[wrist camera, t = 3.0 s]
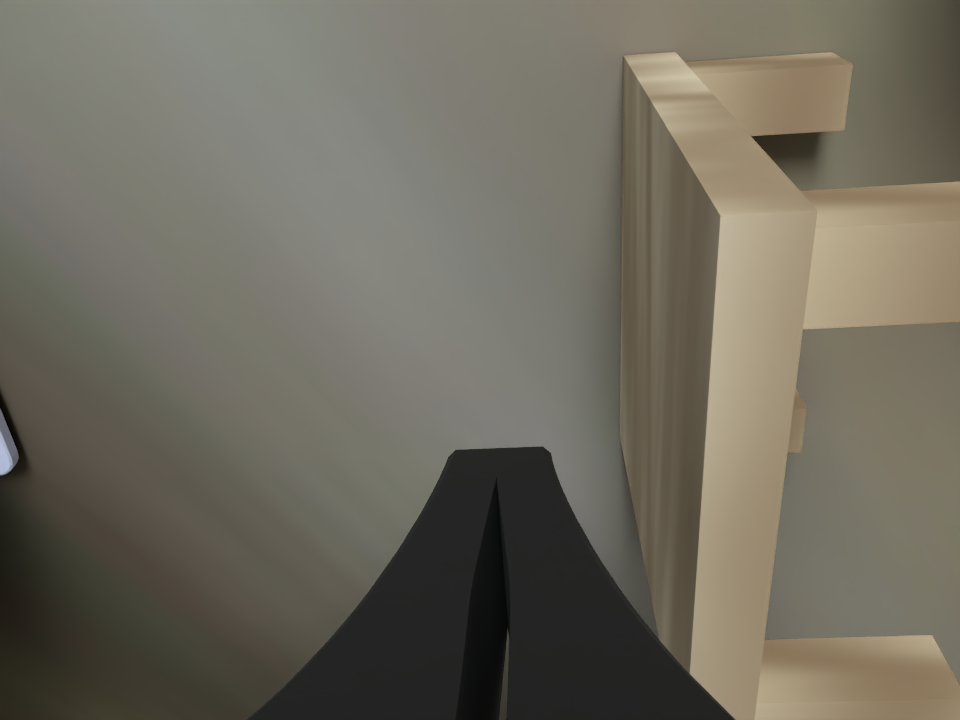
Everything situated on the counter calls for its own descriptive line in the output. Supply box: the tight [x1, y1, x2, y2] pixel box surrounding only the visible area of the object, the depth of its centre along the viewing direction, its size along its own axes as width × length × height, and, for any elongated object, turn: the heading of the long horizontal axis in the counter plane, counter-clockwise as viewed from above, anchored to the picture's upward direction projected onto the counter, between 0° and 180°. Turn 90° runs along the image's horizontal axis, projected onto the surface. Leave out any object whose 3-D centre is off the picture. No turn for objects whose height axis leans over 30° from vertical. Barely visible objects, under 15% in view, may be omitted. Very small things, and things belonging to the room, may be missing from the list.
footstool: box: [620, 52, 960, 720], centre depth 15 cm, size 4×9×9 cm, turn 4°
